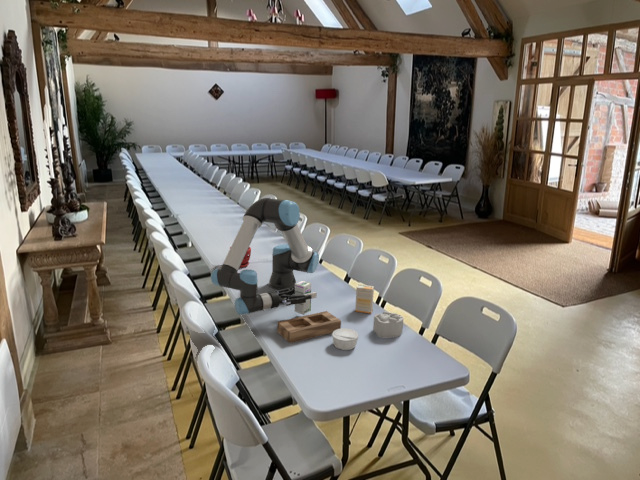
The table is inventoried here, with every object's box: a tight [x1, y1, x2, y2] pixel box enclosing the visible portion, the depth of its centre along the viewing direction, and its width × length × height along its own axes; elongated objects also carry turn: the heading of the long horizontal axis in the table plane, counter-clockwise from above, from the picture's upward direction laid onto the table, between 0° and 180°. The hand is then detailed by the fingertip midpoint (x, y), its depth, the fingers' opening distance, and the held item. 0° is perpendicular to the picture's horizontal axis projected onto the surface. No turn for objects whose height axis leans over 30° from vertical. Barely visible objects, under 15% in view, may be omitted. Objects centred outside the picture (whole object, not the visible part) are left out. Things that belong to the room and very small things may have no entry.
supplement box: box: [355, 284, 375, 315], centre depth 235 cm, size 8×5×13 cm, turn 74°
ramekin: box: [331, 327, 359, 351], centre depth 201 cm, size 11×11×5 cm
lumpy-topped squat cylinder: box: [372, 310, 404, 339], centre depth 214 cm, size 10×13×9 cm
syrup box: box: [294, 280, 312, 316], centre depth 225 cm, size 6×6×14 cm
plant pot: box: [229, 246, 252, 269], centre depth 296 cm, size 13×13×12 cm
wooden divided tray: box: [276, 310, 342, 344], centre depth 212 cm, size 12×26×5 cm, turn 122°
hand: (311, 292), depth 227 cm, fingers closed on syrup box, 7 cm apart
